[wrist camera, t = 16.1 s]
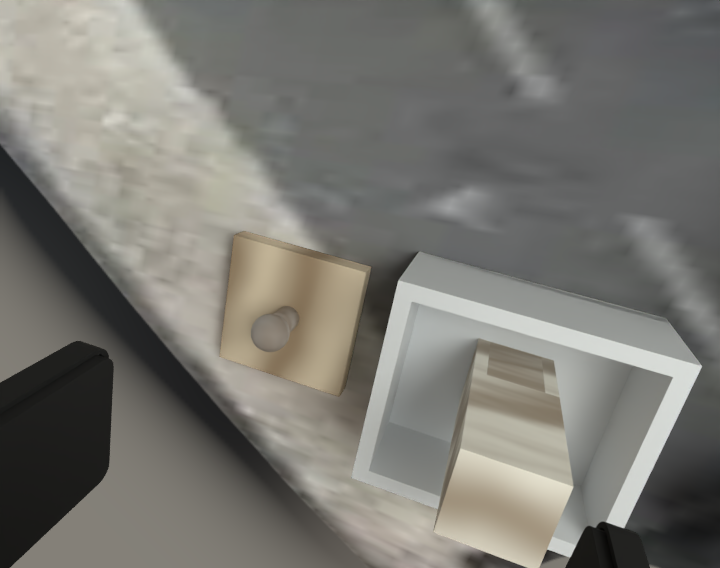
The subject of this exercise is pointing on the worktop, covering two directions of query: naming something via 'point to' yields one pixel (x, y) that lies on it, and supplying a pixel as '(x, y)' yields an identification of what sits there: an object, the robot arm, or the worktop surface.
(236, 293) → the square lid with knob
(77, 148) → the worktop surface
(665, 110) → the worktop surface
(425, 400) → the bin
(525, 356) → the strut
